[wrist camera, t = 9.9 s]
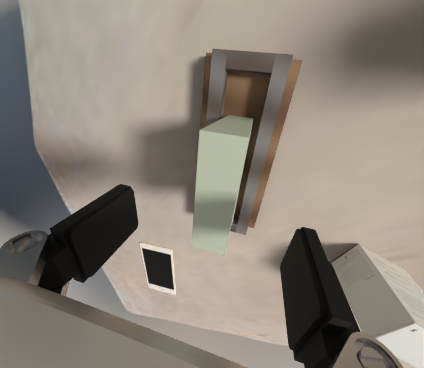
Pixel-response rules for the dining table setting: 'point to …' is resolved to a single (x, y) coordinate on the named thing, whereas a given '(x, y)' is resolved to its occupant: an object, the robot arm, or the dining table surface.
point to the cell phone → (158, 267)
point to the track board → (250, 114)
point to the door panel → (219, 180)
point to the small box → (384, 302)
